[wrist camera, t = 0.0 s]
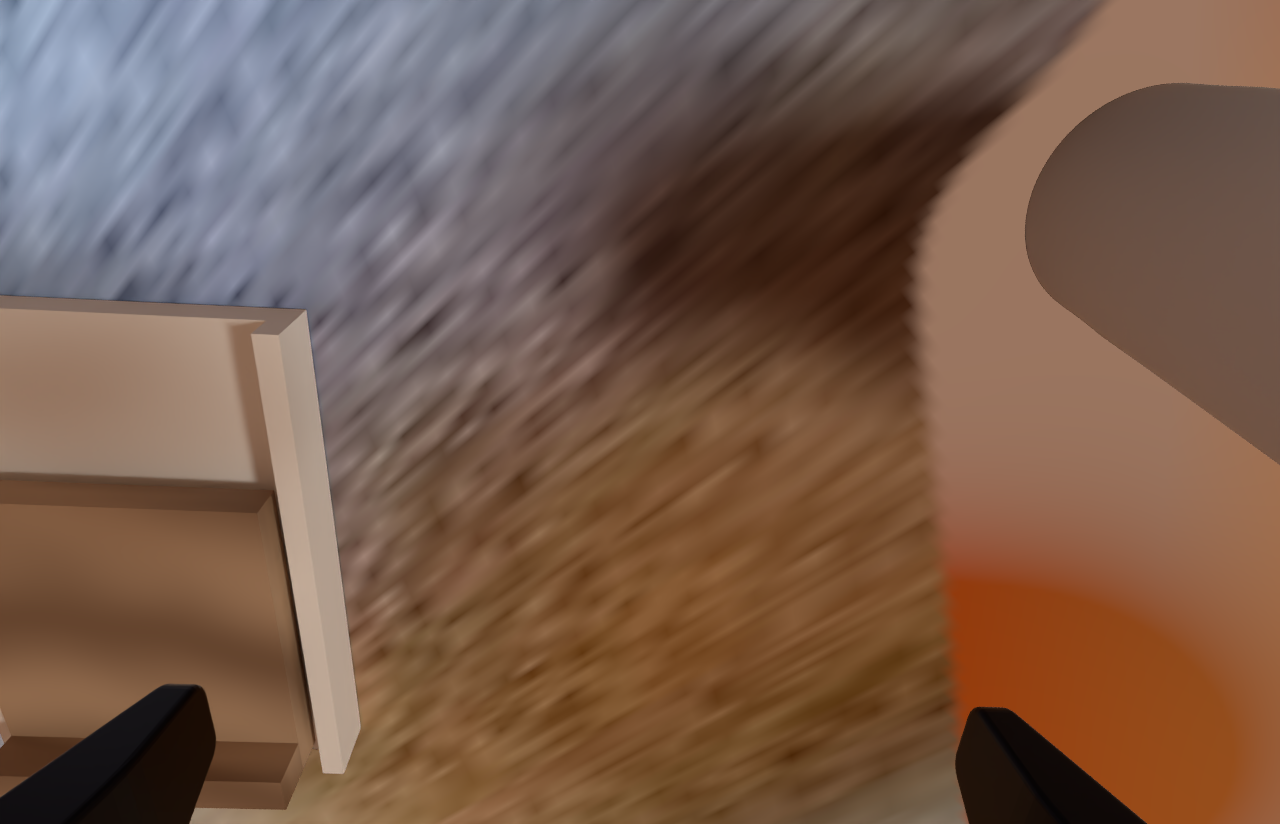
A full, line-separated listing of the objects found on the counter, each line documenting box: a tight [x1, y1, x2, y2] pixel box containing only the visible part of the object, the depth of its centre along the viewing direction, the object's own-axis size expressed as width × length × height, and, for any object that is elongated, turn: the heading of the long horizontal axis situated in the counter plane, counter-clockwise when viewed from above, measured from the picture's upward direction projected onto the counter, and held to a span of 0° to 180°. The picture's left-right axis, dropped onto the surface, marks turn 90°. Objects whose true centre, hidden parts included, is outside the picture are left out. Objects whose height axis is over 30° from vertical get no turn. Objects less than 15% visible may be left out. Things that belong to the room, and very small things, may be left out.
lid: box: [0, 480, 316, 810], centre depth 24 cm, size 10×9×3 cm
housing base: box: [0, 295, 361, 774], centre depth 25 cm, size 16×11×2 cm
